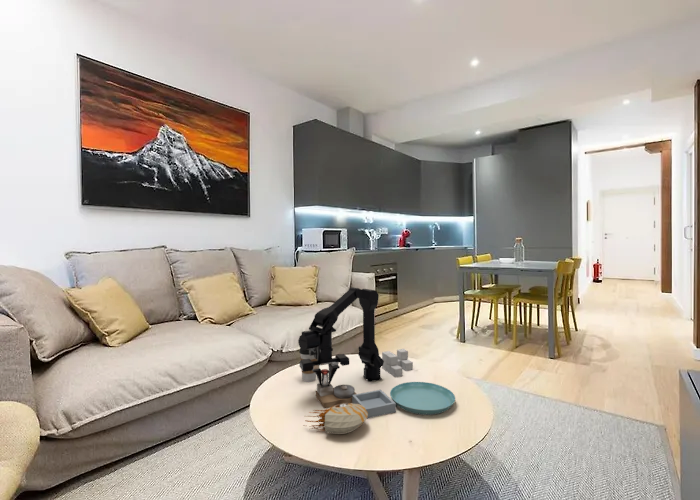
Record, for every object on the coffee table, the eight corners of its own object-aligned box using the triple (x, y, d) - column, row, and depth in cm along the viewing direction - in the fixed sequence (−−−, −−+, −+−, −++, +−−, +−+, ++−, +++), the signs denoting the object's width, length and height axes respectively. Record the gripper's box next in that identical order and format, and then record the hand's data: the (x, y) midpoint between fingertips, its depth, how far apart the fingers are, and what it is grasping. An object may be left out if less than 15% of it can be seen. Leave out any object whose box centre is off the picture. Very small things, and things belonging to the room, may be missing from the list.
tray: (380, 397, 140) (380, 389, 140) (395, 412, 129) (395, 403, 129) (352, 403, 136) (352, 394, 136) (365, 418, 125) (365, 409, 125)
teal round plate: (466, 401, 138) (466, 392, 138) (434, 427, 120) (434, 417, 120) (412, 383, 154) (412, 376, 154) (377, 404, 136) (377, 395, 136)
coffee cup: (320, 375, 162) (320, 342, 162) (316, 383, 154) (316, 349, 153) (302, 375, 163) (301, 342, 162) (297, 382, 155) (297, 348, 154)
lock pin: (327, 390, 143) (327, 368, 142) (329, 393, 140) (329, 371, 140) (320, 391, 142) (319, 369, 141) (322, 394, 139) (322, 372, 138)
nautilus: (298, 441, 113) (309, 418, 128) (366, 441, 110) (370, 418, 125) (297, 415, 113) (308, 396, 128) (365, 415, 111) (368, 395, 125)
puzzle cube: (395, 377, 160) (395, 360, 159) (382, 368, 171) (381, 352, 170) (417, 373, 165) (417, 356, 164) (403, 364, 176) (403, 348, 175)
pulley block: (348, 389, 148) (348, 377, 148) (358, 401, 138) (358, 388, 137) (315, 395, 143) (315, 383, 142) (323, 408, 132) (323, 395, 132)
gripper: (339, 336, 151) (340, 372, 152) (295, 341, 144) (296, 379, 145) (349, 343, 140) (350, 383, 141) (302, 350, 133) (303, 391, 134)
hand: (324, 383), depth 141 cm, fingers open, 3 cm apart
